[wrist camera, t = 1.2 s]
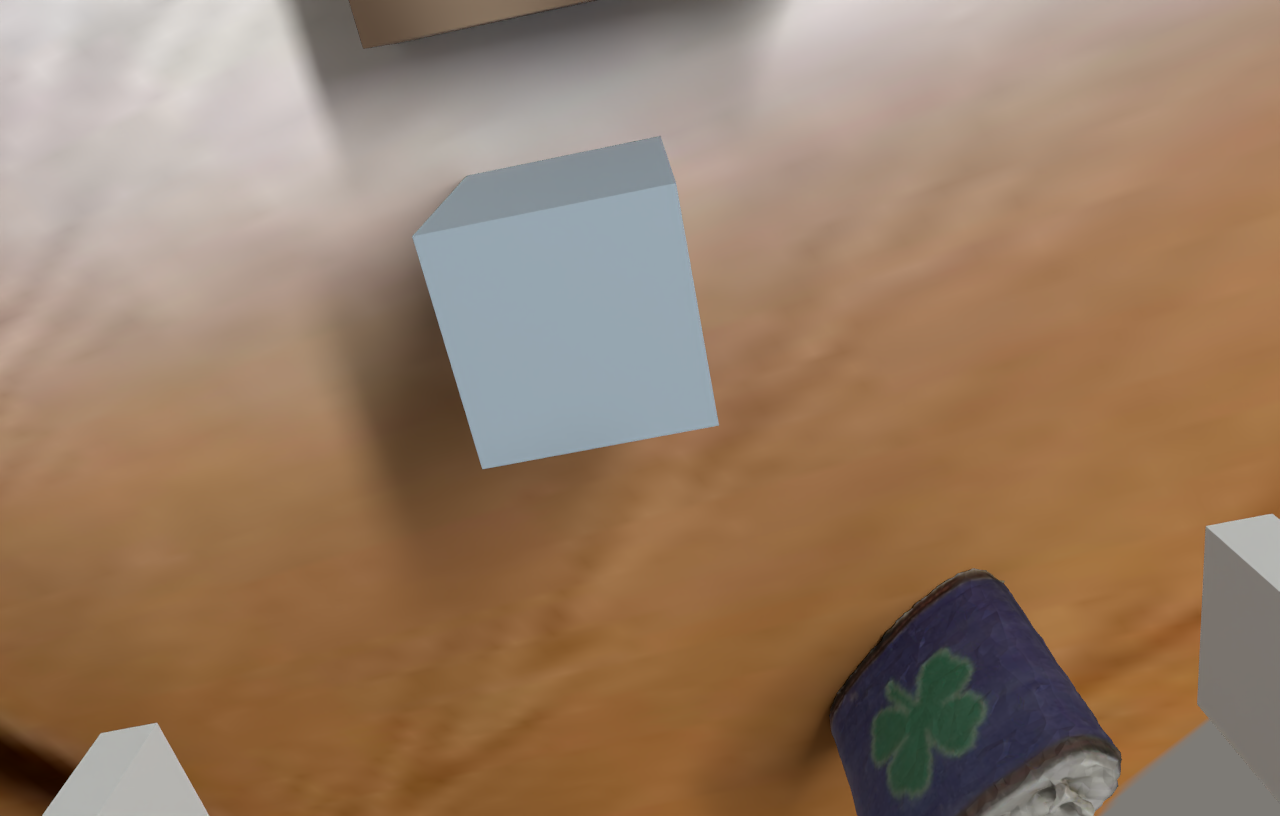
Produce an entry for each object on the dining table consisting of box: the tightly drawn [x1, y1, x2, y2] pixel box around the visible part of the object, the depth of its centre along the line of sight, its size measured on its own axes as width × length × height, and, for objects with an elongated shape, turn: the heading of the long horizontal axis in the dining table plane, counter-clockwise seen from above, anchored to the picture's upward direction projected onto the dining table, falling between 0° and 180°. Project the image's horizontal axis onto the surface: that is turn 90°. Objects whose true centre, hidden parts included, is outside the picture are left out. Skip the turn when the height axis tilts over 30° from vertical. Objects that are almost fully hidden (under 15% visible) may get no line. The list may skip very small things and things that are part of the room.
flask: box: [829, 569, 1122, 816], centre depth 30 cm, size 9×3×11 cm, turn 145°
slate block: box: [412, 136, 719, 469], centre depth 25 cm, size 6×6×8 cm
